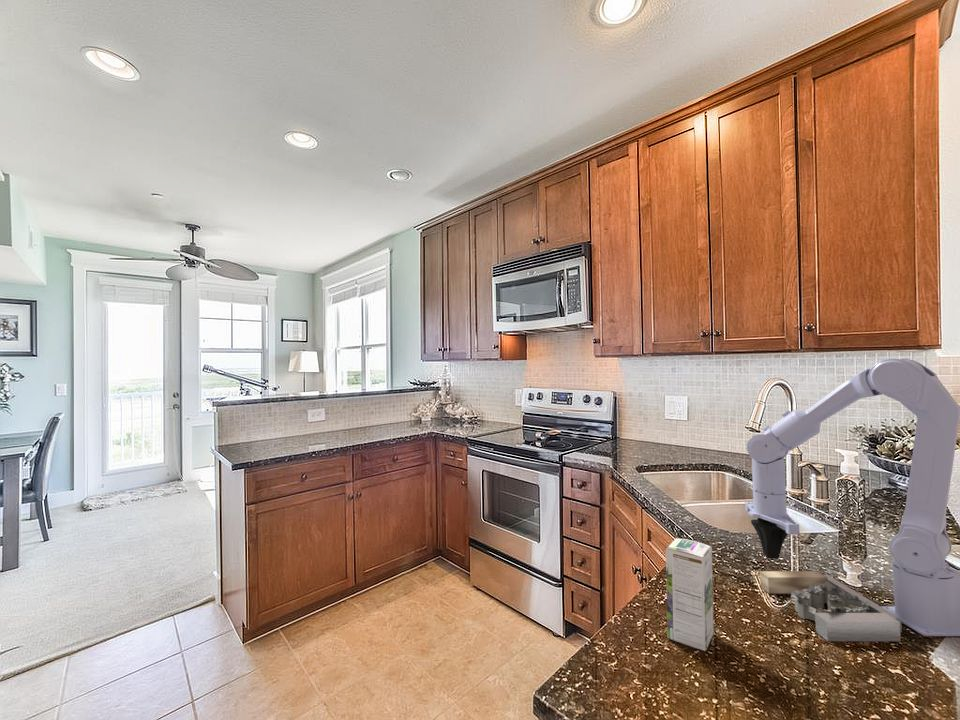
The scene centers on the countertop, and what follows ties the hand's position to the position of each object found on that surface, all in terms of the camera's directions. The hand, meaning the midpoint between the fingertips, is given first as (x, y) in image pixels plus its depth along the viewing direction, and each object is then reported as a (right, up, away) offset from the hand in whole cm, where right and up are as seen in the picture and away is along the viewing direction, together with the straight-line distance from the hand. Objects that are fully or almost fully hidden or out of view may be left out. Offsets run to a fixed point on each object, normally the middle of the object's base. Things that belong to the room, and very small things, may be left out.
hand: (771, 557), depth 89 cm
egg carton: (0, -4, -15) cm, 15 cm away
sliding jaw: (0, -4, -6) cm, 7 cm away
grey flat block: (+1, -3, -13) cm, 14 cm away
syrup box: (-27, -4, -20) cm, 34 cm away
